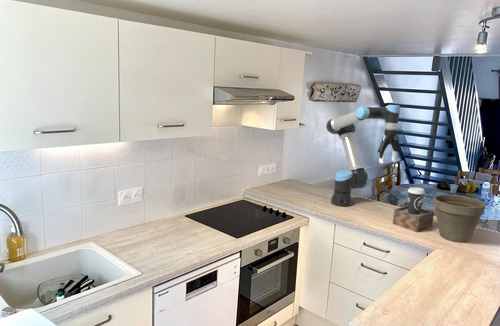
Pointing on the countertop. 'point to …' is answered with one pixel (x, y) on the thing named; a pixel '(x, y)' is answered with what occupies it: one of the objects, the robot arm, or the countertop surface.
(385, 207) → the countertop surface
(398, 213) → the wooden box
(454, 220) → the plant pot
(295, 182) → the countertop surface
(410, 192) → the coffee cup
